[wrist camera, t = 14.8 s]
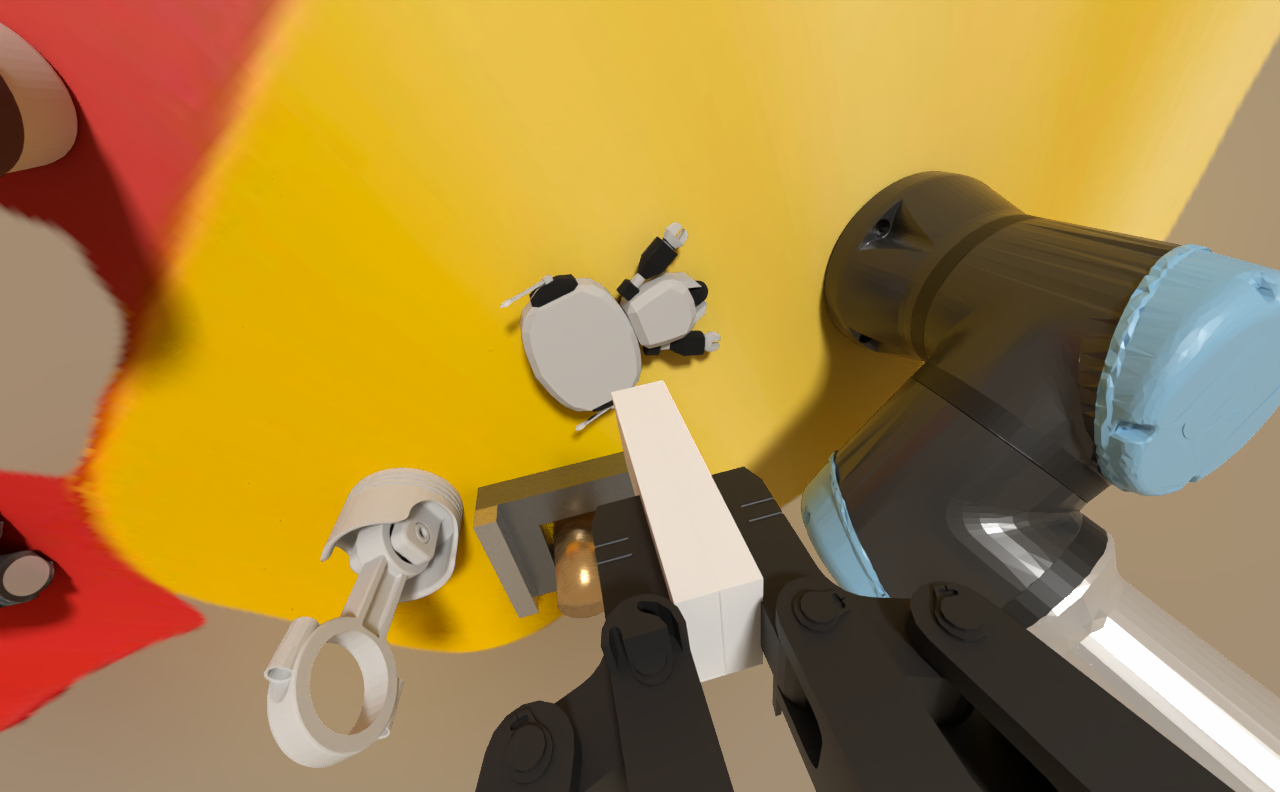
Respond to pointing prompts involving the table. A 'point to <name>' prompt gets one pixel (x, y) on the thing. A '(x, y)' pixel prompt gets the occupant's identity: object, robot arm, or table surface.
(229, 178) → the table surface
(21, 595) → the toy excavator
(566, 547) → the copper cylinder rod
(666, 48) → the table surface
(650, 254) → the robot toy
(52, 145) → the coffee cup
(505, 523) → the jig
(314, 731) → the engine component
